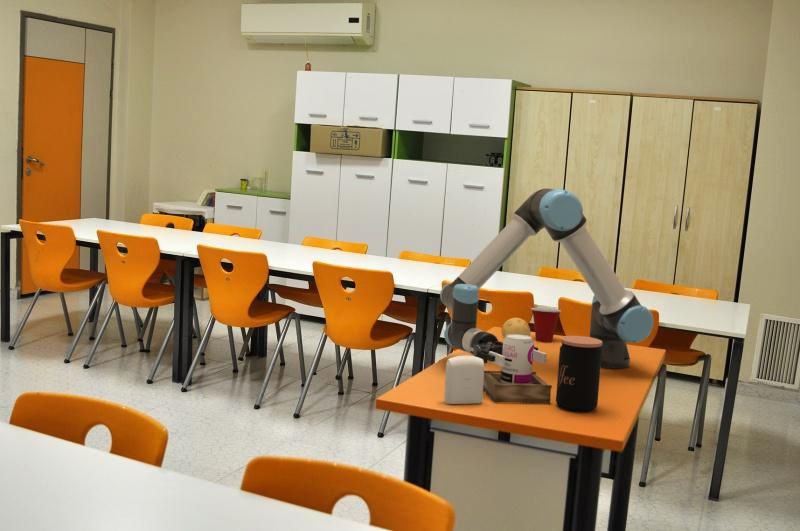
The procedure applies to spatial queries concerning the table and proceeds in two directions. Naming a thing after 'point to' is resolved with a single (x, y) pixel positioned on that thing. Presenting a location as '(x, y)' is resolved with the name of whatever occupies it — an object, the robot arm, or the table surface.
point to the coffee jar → (578, 373)
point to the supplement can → (517, 359)
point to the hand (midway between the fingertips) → (524, 360)
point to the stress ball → (515, 327)
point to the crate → (516, 389)
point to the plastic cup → (545, 323)
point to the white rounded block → (464, 380)
